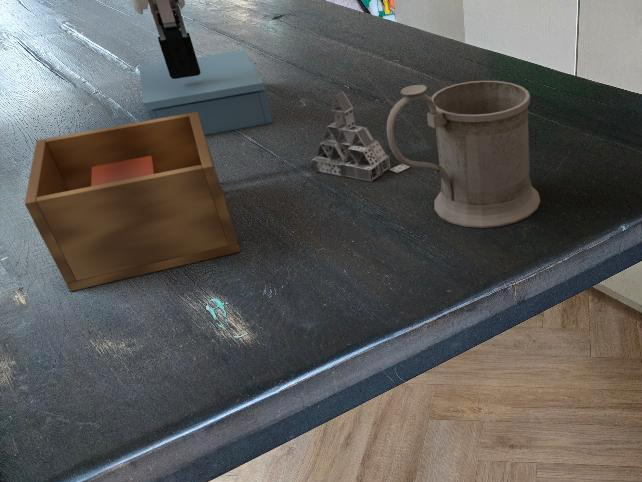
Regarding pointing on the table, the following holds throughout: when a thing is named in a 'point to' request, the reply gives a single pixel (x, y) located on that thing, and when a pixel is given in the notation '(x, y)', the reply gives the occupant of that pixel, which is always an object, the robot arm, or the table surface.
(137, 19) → the table surface
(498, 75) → the table surface
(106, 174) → the block
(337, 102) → the house of cards
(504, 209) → the mug
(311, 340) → the table surface
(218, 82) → the lid
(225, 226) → the open wooden crate
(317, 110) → the table surface
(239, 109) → the box
